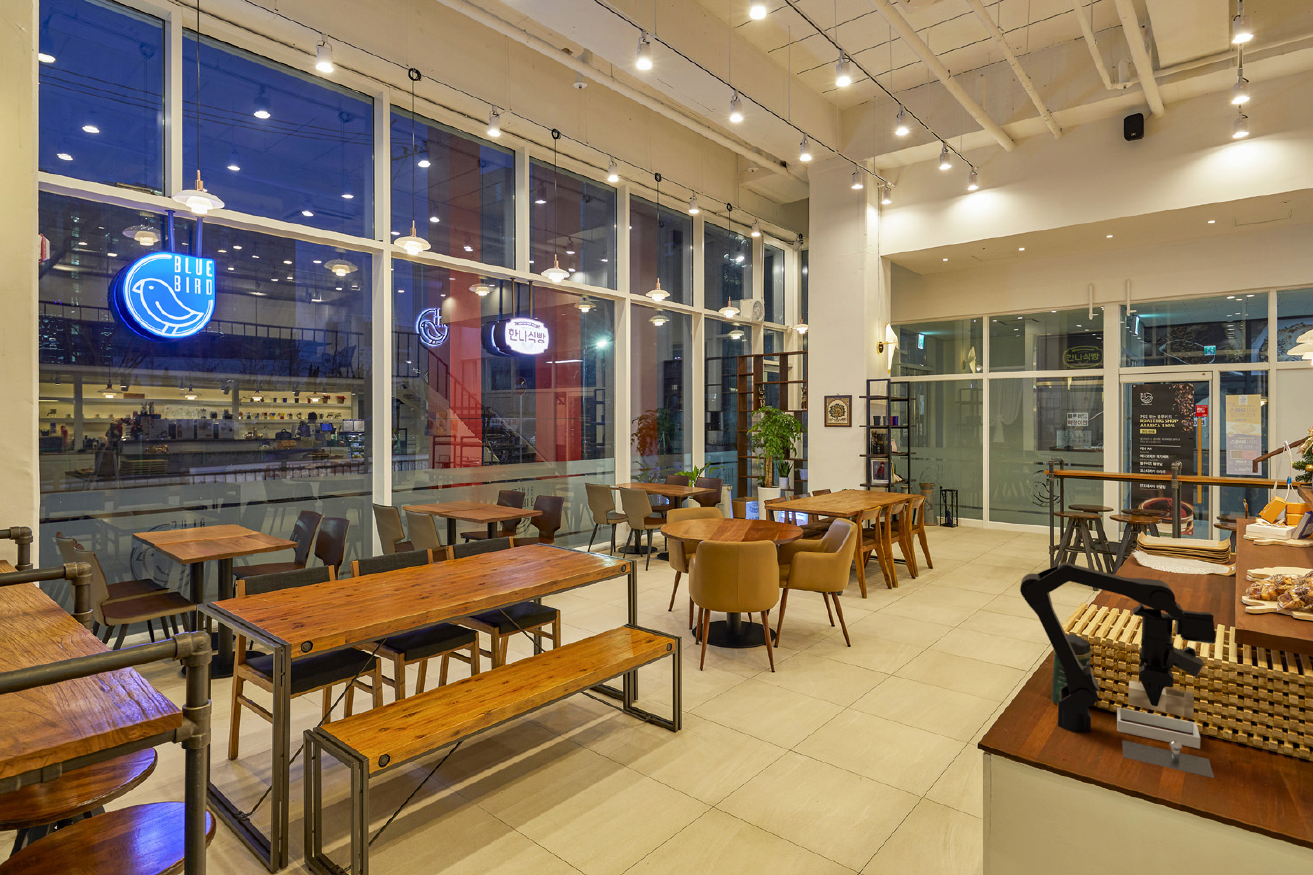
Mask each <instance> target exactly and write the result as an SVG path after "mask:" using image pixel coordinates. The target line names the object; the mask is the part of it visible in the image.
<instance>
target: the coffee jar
mask: <svg viewBox="0 0 1313 875" xmlns="http://www.w3.org/2000/svg"><path fill="white" fill-rule="evenodd" d="M1066 636H1067V638H1068V640H1069V642H1070V644H1071V646H1072V648H1073V650H1074V652H1075V654H1076V657H1077V659H1078V661H1079V662H1080V663H1081V664H1082V666H1083V667H1084V668H1086V667H1088V666H1090V667H1091V656H1092V655H1091V654H1092V648H1091V649H1090V643H1089V642H1087V641H1086V640H1084V639H1082V638H1081V637H1078V636H1077V635H1073V634H1071V635H1066ZM1052 648H1053V647H1052ZM1052 672H1053V673H1052V686H1051V688H1052V689H1051V701H1052V702H1053V703H1054V704H1056V705H1058V703H1059V701H1060V689H1061V688H1063V687H1064V686H1066V685H1067V682H1066V678H1065V673H1064V669H1063V667H1062V665H1061V663H1060V661H1059V659H1058V657H1057V654H1056V652H1055V650H1054V648H1053V671H1052Z"/></svg>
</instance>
